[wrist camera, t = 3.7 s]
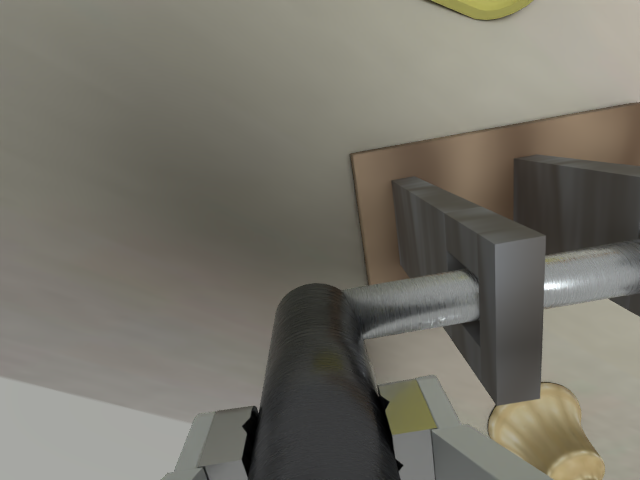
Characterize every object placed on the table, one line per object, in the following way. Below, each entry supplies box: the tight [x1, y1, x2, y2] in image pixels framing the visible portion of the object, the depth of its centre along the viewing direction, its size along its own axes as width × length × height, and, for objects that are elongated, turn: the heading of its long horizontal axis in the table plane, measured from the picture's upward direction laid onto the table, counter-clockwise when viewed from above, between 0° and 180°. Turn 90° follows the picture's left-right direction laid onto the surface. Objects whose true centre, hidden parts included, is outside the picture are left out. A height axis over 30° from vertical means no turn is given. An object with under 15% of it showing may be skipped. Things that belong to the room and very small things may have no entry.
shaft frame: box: [350, 102, 640, 406], centre depth 18 cm, size 19×10×14 cm, turn 100°
